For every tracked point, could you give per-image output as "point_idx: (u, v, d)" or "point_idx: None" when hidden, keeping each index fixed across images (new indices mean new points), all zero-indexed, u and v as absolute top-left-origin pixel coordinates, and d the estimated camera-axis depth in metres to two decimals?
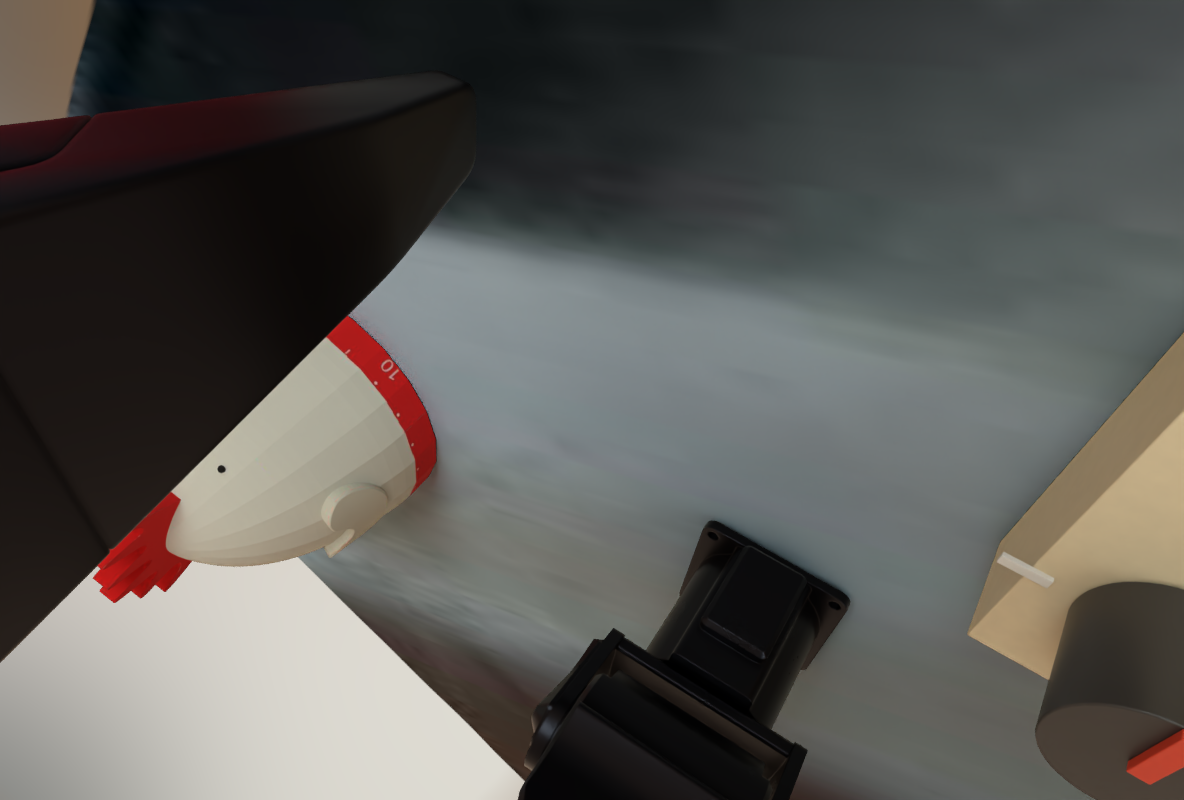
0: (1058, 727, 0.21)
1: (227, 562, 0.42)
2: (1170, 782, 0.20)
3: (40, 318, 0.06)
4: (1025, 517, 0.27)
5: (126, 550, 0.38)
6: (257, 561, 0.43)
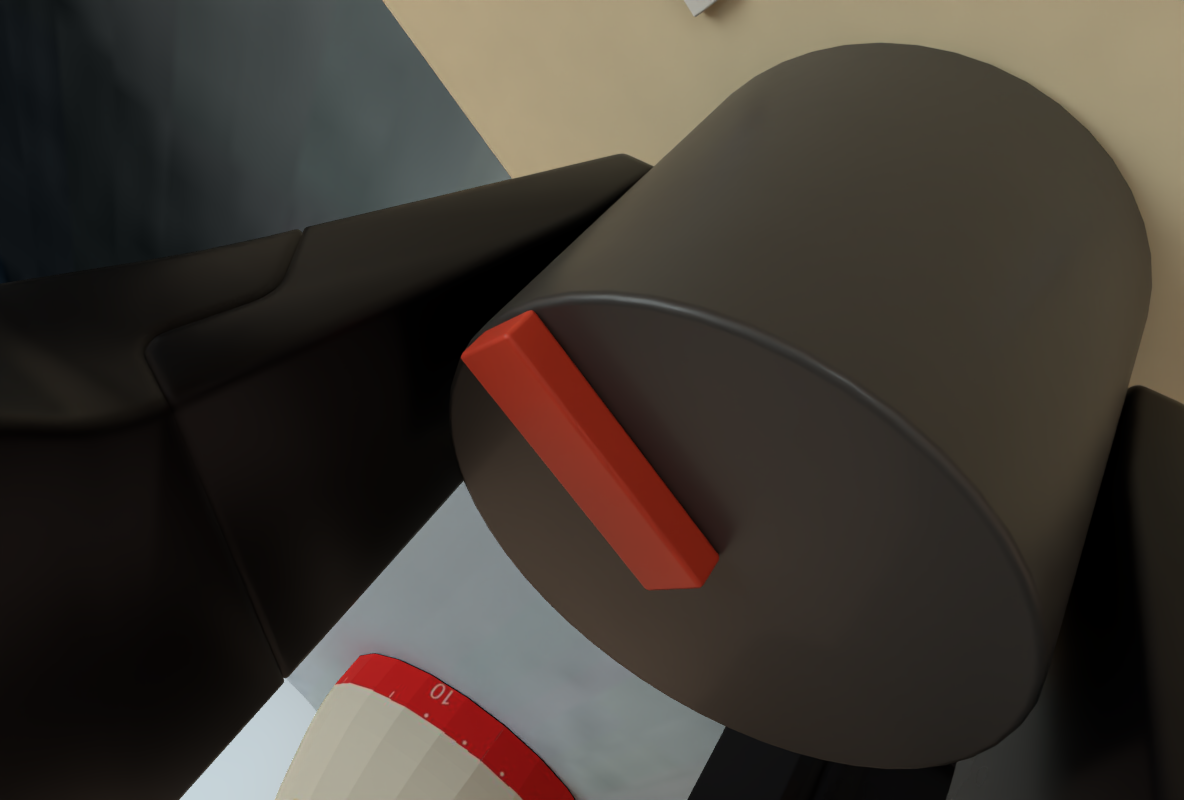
0: (562, 590, 0.07)
1: None
2: (755, 541, 0.06)
3: (265, 465, 0.06)
4: None
5: None
6: None
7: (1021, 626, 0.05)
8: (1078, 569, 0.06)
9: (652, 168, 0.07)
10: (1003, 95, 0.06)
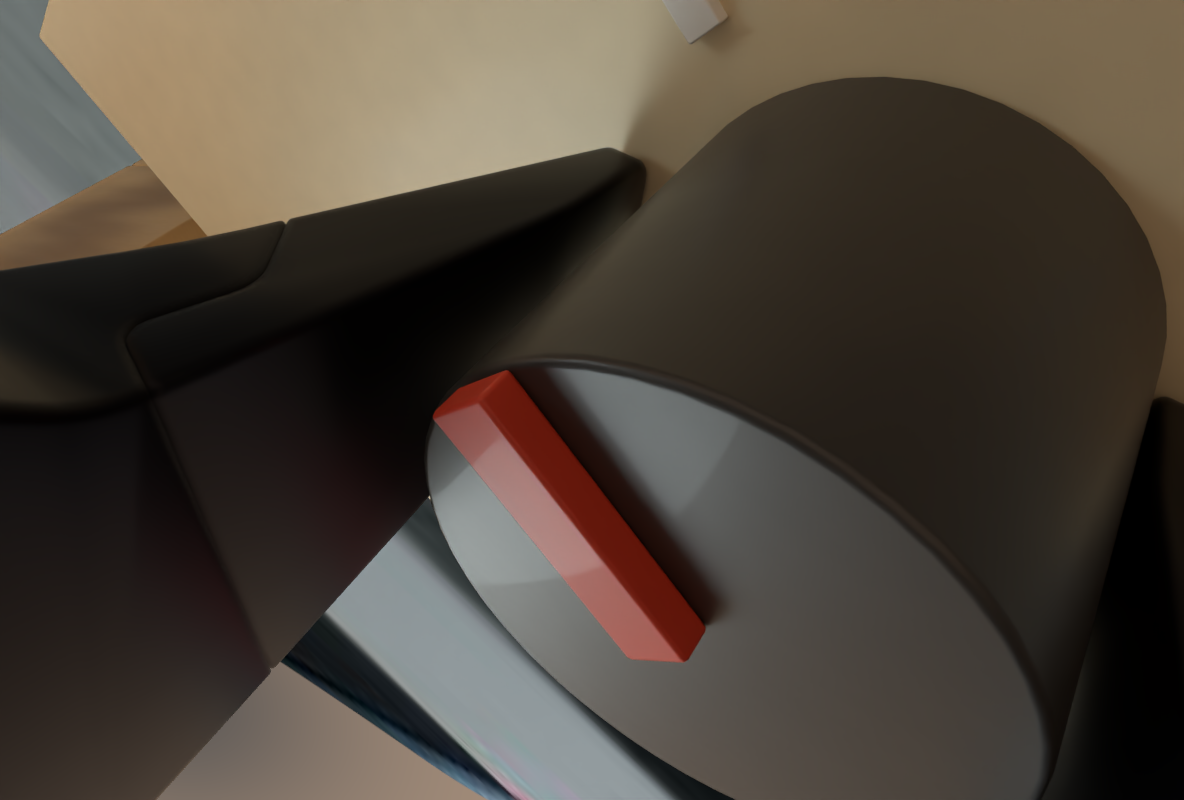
0: (543, 644, 0.07)
1: None
2: (744, 617, 0.05)
3: (248, 453, 0.06)
4: None
5: None
6: None
7: (1027, 725, 0.04)
8: (1107, 584, 0.06)
9: (642, 206, 0.07)
10: (1013, 138, 0.06)
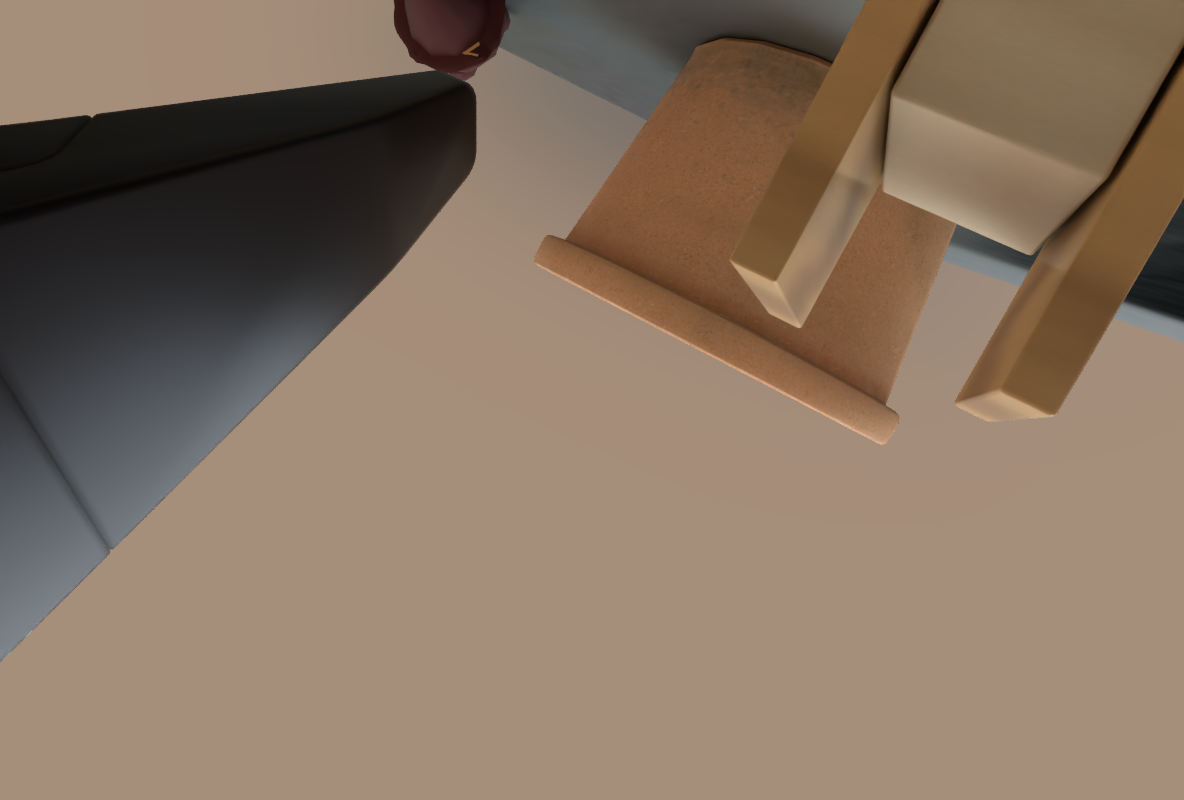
0: None
1: None
2: None
3: (40, 318, 0.06)
4: None
5: None
6: None
7: None
8: None
9: None
10: None
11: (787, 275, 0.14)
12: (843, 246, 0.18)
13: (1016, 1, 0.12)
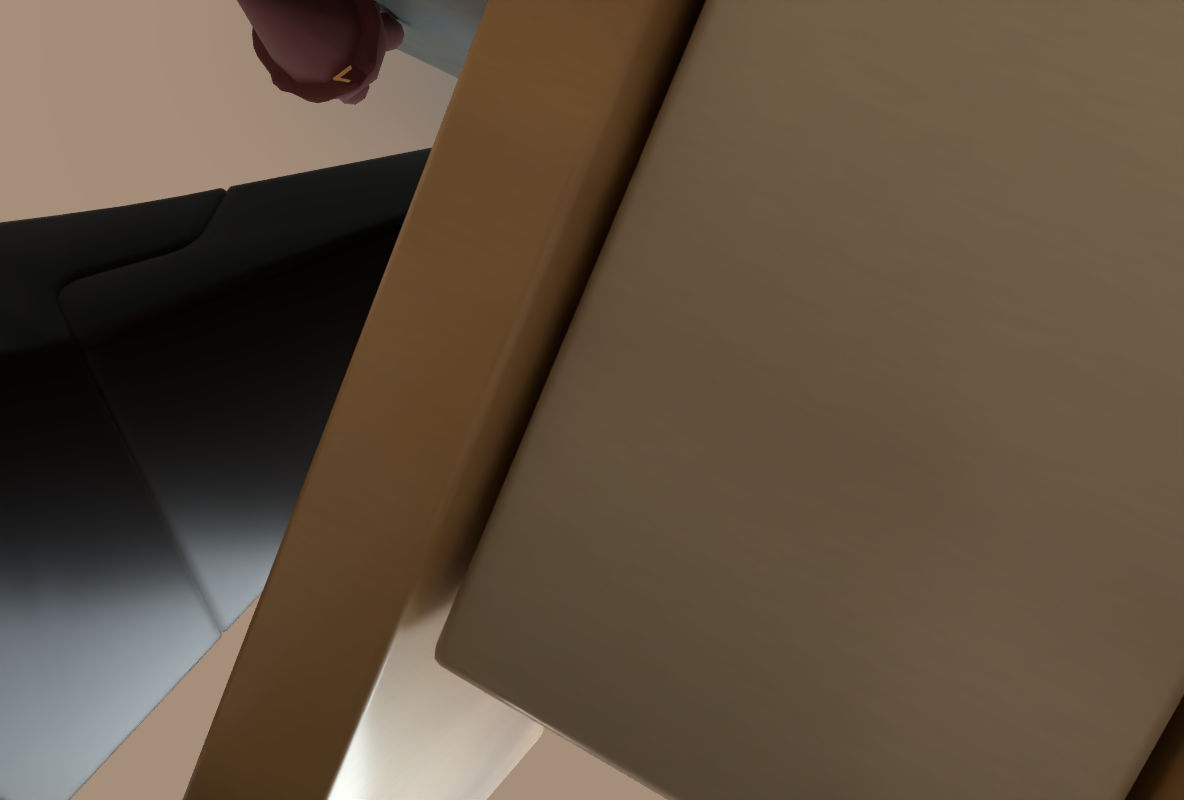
0: None
1: None
2: None
3: (183, 412, 0.06)
4: None
5: None
6: None
7: None
8: None
9: None
10: None
11: None
12: None
13: (729, 429, 0.04)
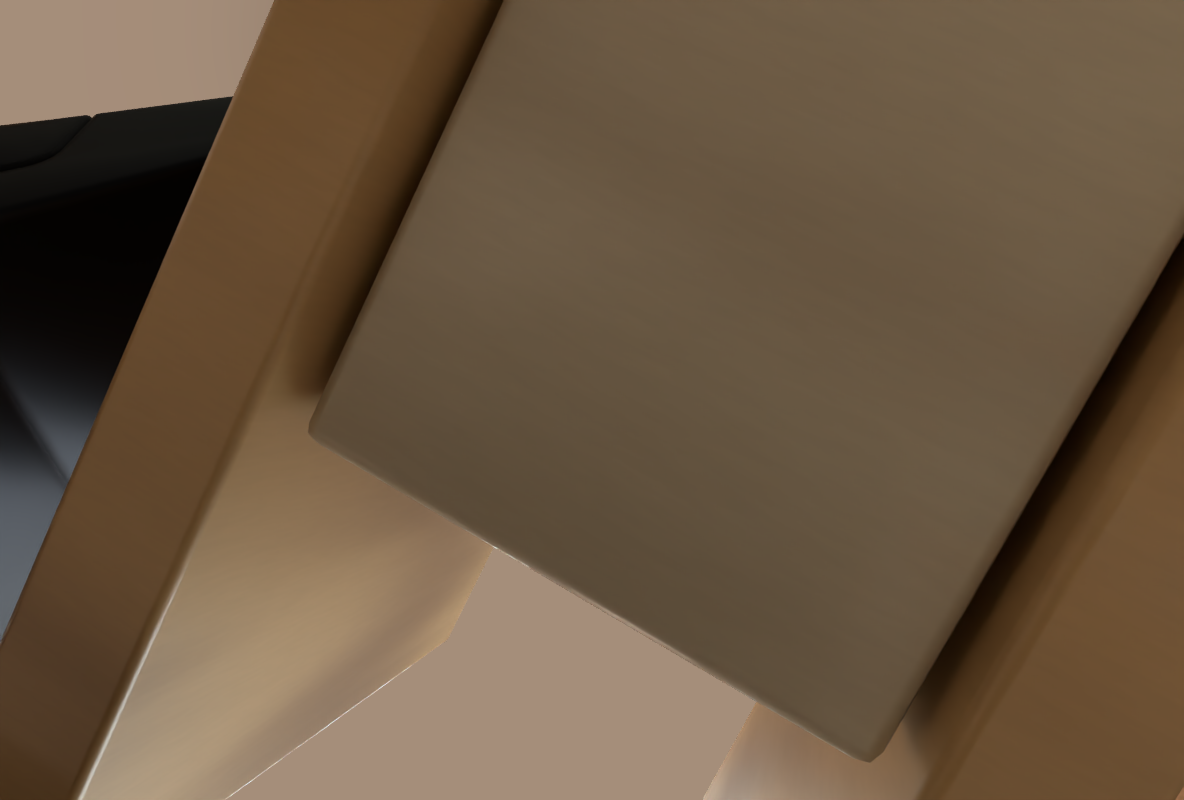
0: None
1: None
2: None
3: (40, 318, 0.06)
4: None
5: None
6: None
7: None
8: None
9: None
10: None
11: None
12: None
13: (622, 186, 0.04)
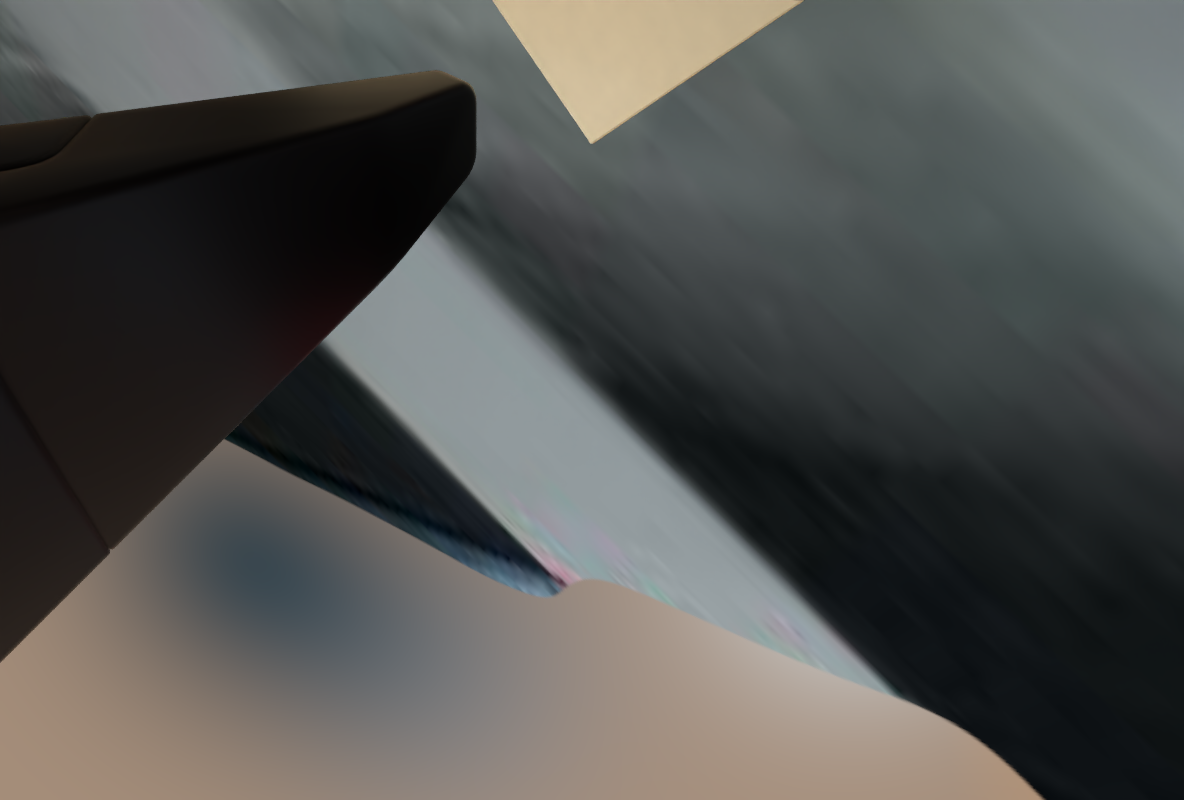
0: None
1: None
2: None
3: (40, 318, 0.06)
4: None
5: None
6: None
7: None
8: None
9: None
10: None
11: None
12: None
13: None
